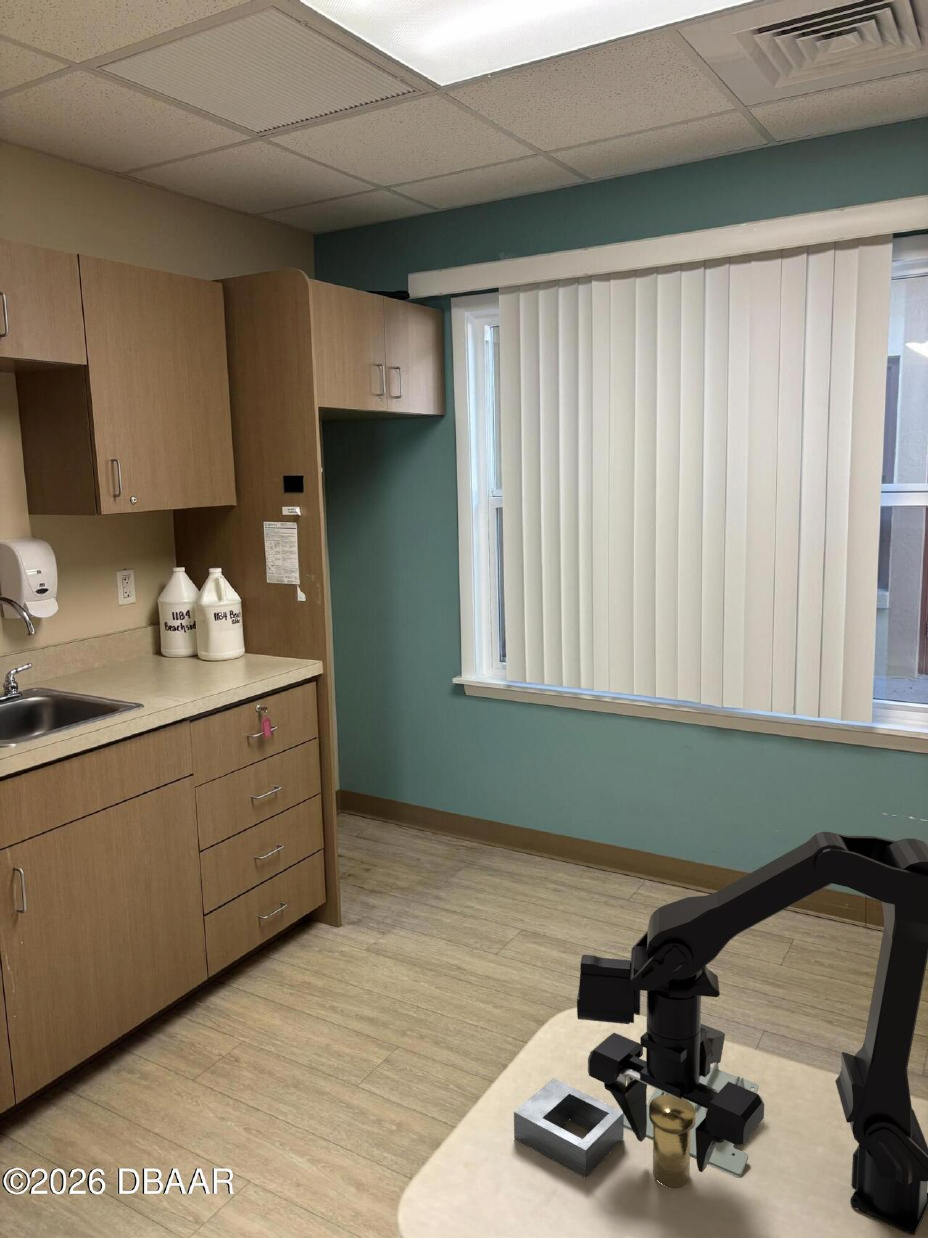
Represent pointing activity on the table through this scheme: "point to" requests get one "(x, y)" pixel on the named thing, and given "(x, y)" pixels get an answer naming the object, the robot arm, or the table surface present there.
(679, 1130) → the knob
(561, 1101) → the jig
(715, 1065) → the metal bracket
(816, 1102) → the table surface
